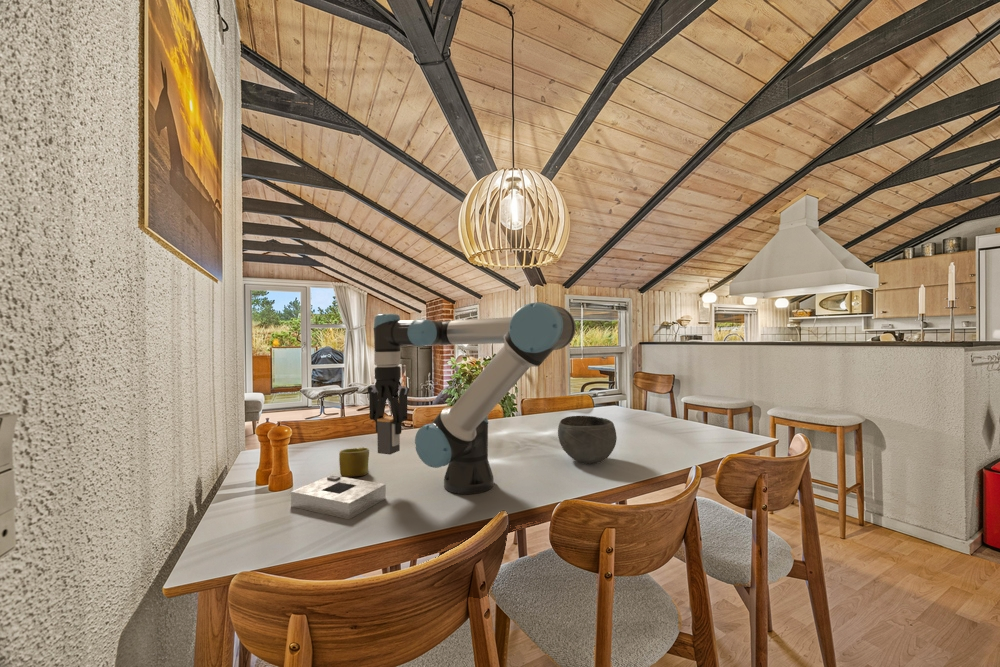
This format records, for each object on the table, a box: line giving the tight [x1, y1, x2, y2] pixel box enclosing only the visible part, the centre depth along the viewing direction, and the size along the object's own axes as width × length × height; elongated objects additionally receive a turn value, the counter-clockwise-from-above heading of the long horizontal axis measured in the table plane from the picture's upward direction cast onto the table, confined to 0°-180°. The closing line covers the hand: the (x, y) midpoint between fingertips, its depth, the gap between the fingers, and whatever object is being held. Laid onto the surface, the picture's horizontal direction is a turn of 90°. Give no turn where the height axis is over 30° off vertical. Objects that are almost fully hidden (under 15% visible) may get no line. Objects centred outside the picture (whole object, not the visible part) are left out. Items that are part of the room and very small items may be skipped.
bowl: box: [557, 415, 618, 465], centre depth 147 cm, size 21×21×15 cm
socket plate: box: [290, 474, 387, 520], centre depth 111 cm, size 20×14×5 cm
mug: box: [338, 446, 370, 478], centre depth 135 cm, size 12×10×10 cm
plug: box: [377, 415, 401, 456], centre depth 121 cm, size 4×4×10 cm
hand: (388, 444), depth 121 cm, fingers closed on plug, 4 cm apart
